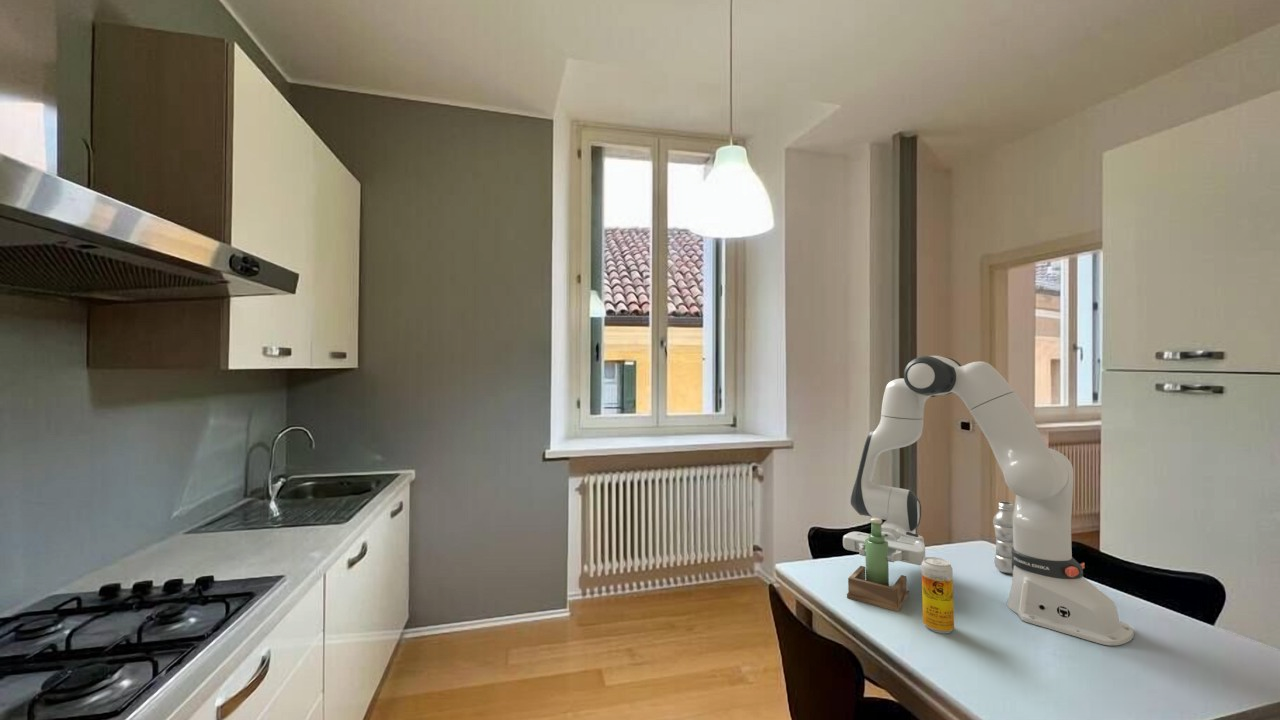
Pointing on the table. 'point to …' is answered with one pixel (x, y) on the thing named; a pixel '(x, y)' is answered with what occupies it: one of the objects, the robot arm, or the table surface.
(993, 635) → the table surface
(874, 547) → the bottle
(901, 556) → the robot arm
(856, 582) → the tray
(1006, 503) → the plastic bottle
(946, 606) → the beer can
